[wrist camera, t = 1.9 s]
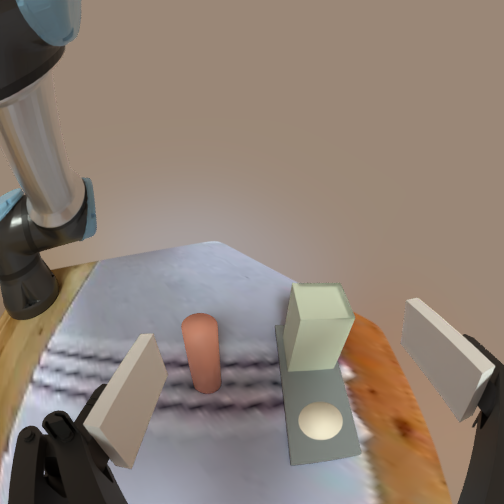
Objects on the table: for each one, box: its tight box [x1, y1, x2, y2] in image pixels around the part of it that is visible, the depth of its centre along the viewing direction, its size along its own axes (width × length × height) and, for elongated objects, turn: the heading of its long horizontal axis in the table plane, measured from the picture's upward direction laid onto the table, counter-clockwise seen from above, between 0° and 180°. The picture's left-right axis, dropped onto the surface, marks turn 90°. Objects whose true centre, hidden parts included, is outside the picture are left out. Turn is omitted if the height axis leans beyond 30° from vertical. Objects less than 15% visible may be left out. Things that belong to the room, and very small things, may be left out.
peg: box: [181, 313, 221, 394], centre depth 32 cm, size 4×4×12 cm
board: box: [275, 325, 361, 466], centre depth 34 cm, size 24×9×4 cm, turn 2°
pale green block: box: [283, 283, 355, 372], centre depth 37 cm, size 7×7×11 cm
